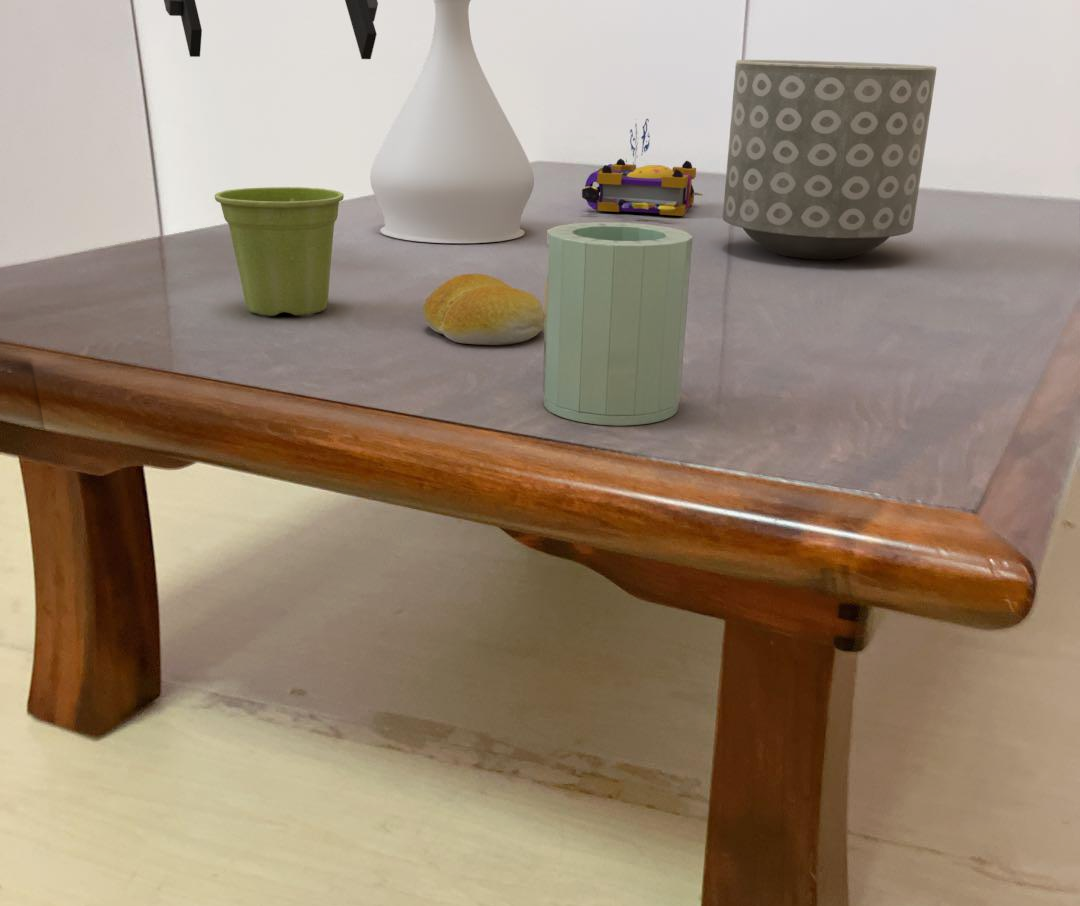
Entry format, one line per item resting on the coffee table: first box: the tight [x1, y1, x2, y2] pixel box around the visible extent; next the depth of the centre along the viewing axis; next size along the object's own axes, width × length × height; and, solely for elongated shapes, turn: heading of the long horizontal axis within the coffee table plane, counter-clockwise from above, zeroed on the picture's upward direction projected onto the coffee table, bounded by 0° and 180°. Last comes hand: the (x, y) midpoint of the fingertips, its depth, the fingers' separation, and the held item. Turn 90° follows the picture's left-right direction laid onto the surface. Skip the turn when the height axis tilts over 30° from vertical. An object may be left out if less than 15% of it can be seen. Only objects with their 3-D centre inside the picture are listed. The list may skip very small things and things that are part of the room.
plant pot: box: [214, 186, 345, 317], centre depth 89 cm, size 9×9×9 cm
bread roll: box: [422, 273, 545, 346], centre depth 85 cm, size 8×9×4 cm
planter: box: [722, 59, 938, 261], centre depth 118 cm, size 19×19×18 cm
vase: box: [369, 0, 535, 244], centre depth 123 cm, size 17×17×25 cm
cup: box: [542, 221, 693, 427], centre depth 68 cm, size 8×8×10 cm
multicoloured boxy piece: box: [581, 118, 703, 217], centre depth 147 cm, size 15×25×12 cm, turn 167°
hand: (285, 45), depth 92 cm, fingers open, 13 cm apart
